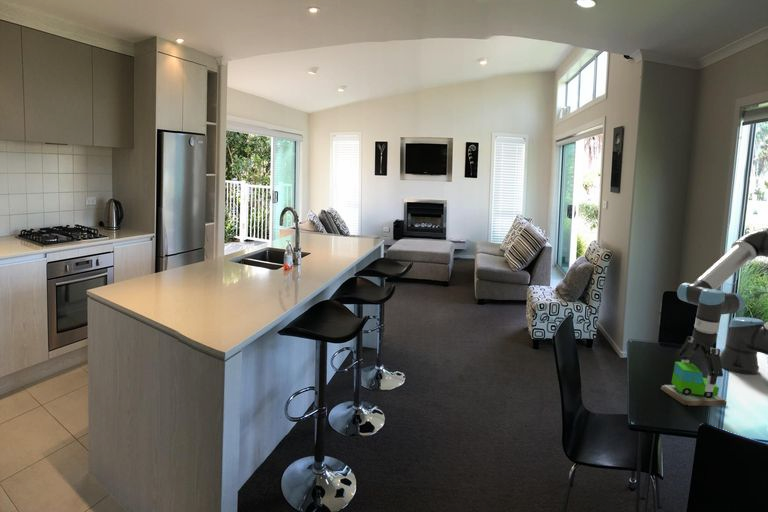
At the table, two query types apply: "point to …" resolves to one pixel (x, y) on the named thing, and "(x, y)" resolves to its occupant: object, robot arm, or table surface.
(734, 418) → the table surface
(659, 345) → the table surface
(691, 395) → the wooden board
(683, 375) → the toy car
